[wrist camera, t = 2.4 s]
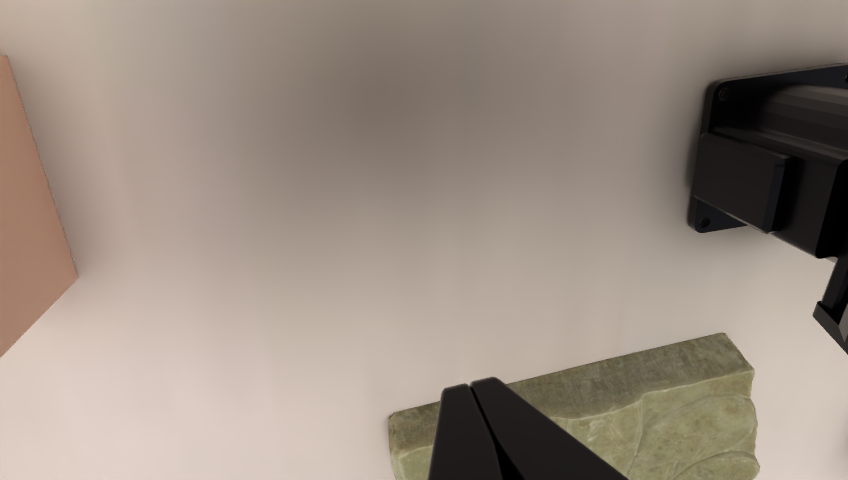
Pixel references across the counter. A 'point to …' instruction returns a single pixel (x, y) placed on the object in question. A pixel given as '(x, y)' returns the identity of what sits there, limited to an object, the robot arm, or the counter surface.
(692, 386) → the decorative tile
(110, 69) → the counter surface
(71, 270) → the tile
